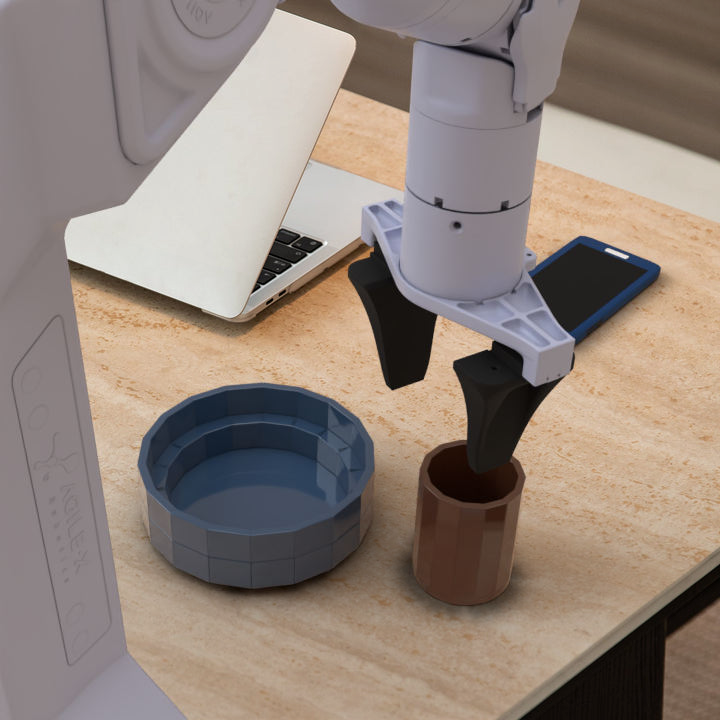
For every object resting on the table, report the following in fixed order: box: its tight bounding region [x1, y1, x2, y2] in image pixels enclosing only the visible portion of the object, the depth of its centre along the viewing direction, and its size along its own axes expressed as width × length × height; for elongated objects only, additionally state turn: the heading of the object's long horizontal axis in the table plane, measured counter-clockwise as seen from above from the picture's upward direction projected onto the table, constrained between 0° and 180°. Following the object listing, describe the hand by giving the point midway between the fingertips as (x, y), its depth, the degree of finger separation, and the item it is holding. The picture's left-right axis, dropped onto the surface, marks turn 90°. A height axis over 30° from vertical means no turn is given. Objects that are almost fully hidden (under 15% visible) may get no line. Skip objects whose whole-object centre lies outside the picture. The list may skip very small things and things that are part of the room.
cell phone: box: [528, 235, 662, 346], centre depth 92 cm, size 7×14×1 cm, turn 141°
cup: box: [411, 439, 527, 606], centre depth 66 cm, size 5×6×7 cm
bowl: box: [136, 381, 376, 590], centre depth 70 cm, size 13×13×4 cm
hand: (445, 421), depth 63 cm, fingers open, 7 cm apart
